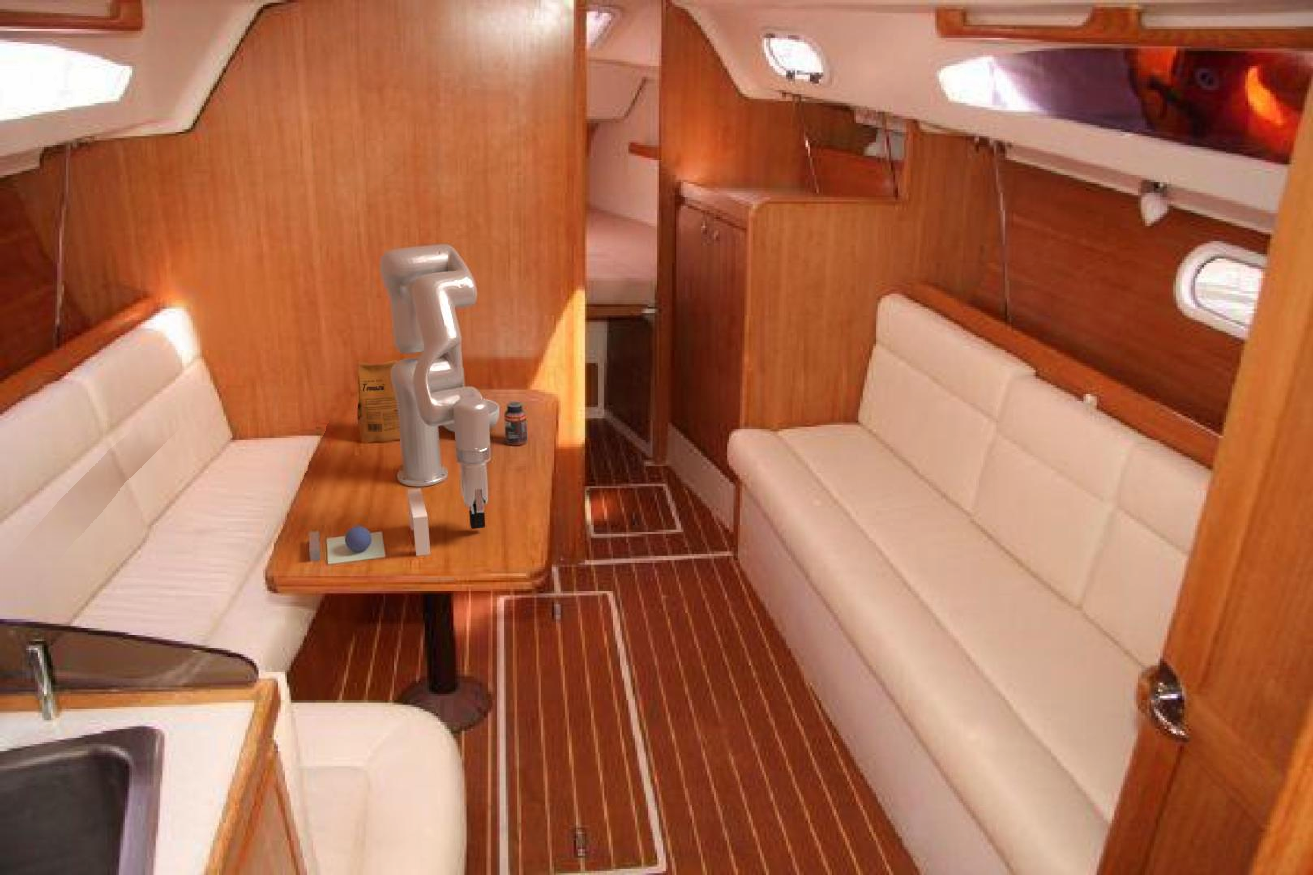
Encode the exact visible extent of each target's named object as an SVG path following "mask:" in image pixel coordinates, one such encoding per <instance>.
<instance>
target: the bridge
mask: <svg viewBox="0 0 1313 875" xmlns="http://www.w3.org/2000/svg"><path fill="white" fill-rule="evenodd" d="M406 492H407V501H408V502H407V504H408V513H409V514H408V515H409V525H410V526H409V528H410V530H411V531H413V534H414V535H413V536H414V547H415V548H414V549H415V556H416V557H418V556H419V557H420V556H429V555H431V546H430V545H431V544H430V532H429V520H428V513H427V510H426V505H425V500H424V496H423V493H422V489H421V488H411V489H407V491H406Z"/></svg>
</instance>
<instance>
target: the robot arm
mask: <svg viewBox="0 0 1313 875" xmlns="http://www.w3.org/2000/svg"><path fill="white" fill-rule="evenodd" d="M379 272H380V277H381V279H382V282H383V285H384V287H385V289H386V291H387V294H388V298H389V303H390V314H391V326H392V336H393V341H394V345H395V347H396V349H397V351H399V353H402V354H407V355H411V354H420V353H421V354H420V355H418V356H413V357H408V358H403V359H401V360H397V361H398V362H397V363H395V364H394V365H393V367H392V369H391V381H392V385H393V389H394V393H395V397H396V402H397V410H398V420H399V431H400V440H399V441H400V450H401V465H402V468H401V469H399V471H398V472H397V475H396V477H397V480H398V482H399V483H400V484H403V485H405V486H410V487H428V486H433V485H434V486H435V485H437V484H439V483H441V482H443V481H444V480H446V479H447V478H448V476H449V471H448V469H447V467H446V466H444V465H443V464H442V461H441V460H442V459H441V447H440V446H441V445H440V432H439V431H440V430H439V431H438V426H439V427H440V426H443V425H445V424H450V423H454V428H455V432H454V441H455V455H456V462H457V463H458V464H460V490H461V495H462V499H463V501H464V505H465V506H466V507H467V508H469V511H468V513H469V525H470V528H471V529H472V530H475V529H483V528H485V527H486V518H485V514H486V513H485V509H484V508H485V506H486V505H487V504H488V503H489V490H488V489H489V487H488V472H487V463H489V461H491V460H492V459H491V458H492V452H491V438H490V437H491V436H490V435H491V434H490V429H489V411H488V404H487V402H486V401H485V400H483V399H484V398H483V396H482V394H481V392H480V391H479V390H478V389H477V388H476V387H474V386H465V387H461V388H458V387H459V386H460V385H461V384H462V380H463V353H462V341H463V339H462V332H461V328H460V324H459V320H458V317H457V312H456V309H459V308H461V309H462V308H466V307H471V306H473V305H475V303H476V301H477V298H478V289H477V284H476V281H475V278H474V276H473V274H472V273H471V270H470V269H469V267H468V266H467V264H466V262H465V261H464V260H463V258H462V257H461V256H460V254H459V252H458V251H457V250H456V248H454V247H453V246H452V245H449V244H430V245H421V246H410V247H409V246H408V247H402V248H395V249H391V250H388V251H386V252H384V253H383V254H382V255H381V256H380V260H379ZM484 505H485V506H484Z"/></svg>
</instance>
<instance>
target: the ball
mask: <svg viewBox="0 0 1313 875" xmlns="http://www.w3.org/2000/svg"><path fill="white" fill-rule="evenodd" d="M370 533H371V532H370V531H369V529H367V528H366V527H364V526H361V525H356V526H353V527H351V528H350V529H348V530H347V532H346V533H345V535H344V536H345V543H346V545H347V547H348V548H349V549H350V550H352V551H355V552H361V551H364V550H366V549H367V548H368V547H369V545H370V544H371V534H370Z"/></svg>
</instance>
